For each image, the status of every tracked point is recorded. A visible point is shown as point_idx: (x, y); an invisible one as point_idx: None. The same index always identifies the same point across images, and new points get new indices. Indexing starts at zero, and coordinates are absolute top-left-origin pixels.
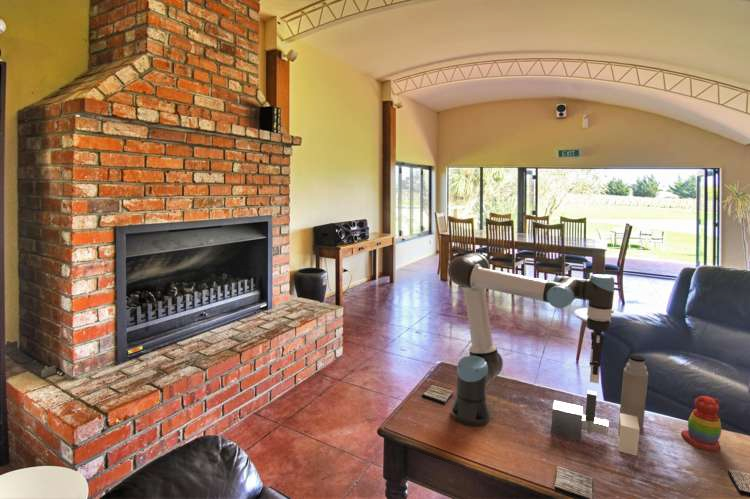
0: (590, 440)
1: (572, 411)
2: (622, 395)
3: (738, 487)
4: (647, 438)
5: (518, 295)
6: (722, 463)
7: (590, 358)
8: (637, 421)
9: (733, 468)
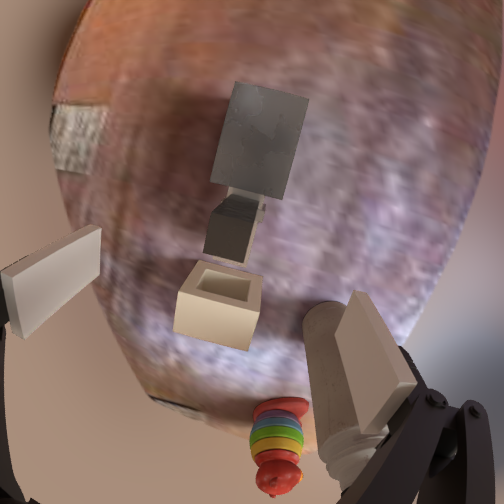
0: None
1: (231, 150)
2: None
3: (159, 400)
4: (274, 340)
5: None
6: (218, 413)
7: (373, 328)
8: (218, 342)
9: (209, 418)
